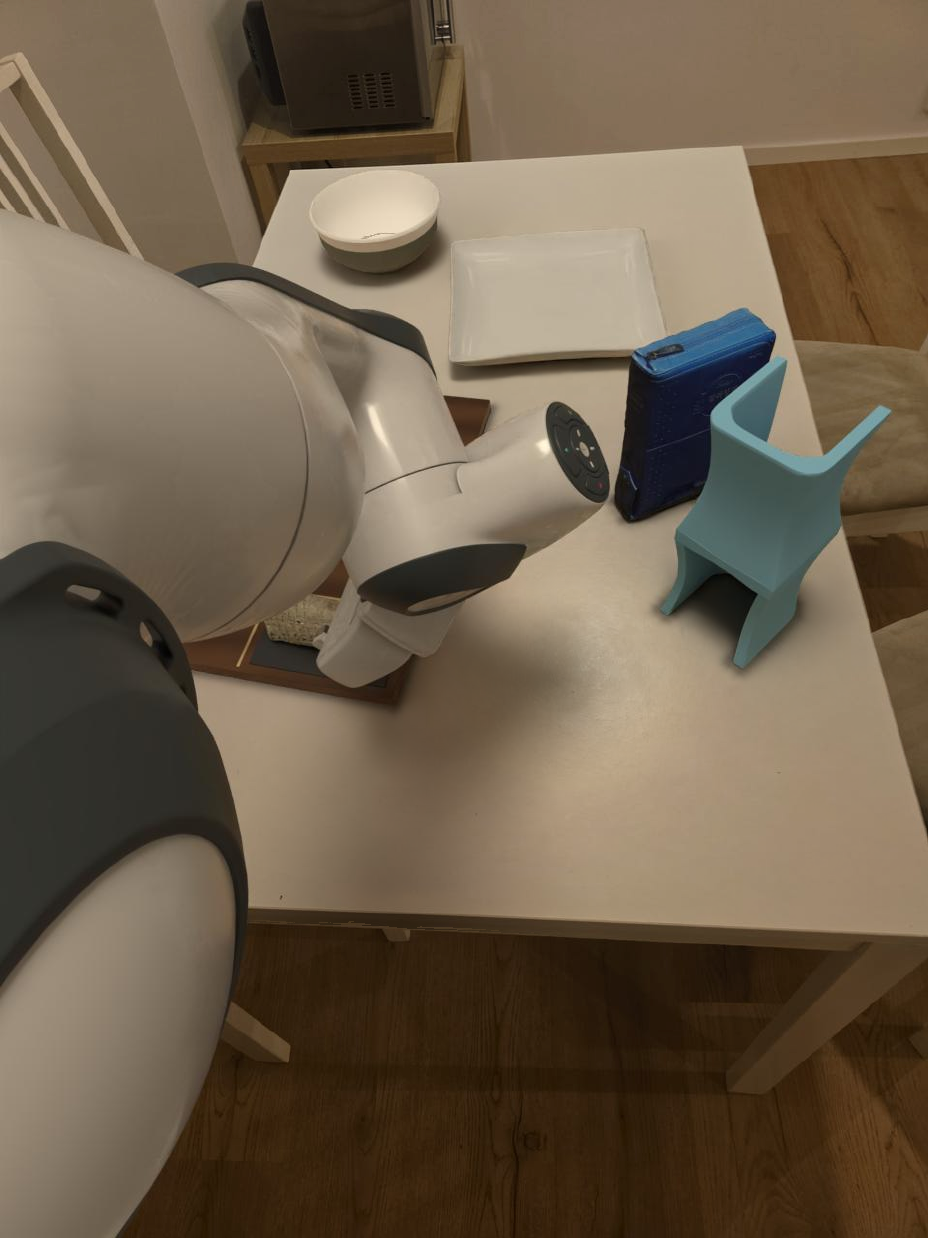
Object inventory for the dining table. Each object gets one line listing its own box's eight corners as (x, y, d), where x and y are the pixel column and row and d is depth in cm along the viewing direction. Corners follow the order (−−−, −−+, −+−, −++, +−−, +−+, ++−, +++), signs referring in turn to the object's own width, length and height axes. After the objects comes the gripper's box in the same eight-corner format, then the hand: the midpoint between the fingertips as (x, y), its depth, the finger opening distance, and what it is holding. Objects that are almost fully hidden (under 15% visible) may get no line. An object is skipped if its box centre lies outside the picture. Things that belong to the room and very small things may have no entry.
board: (394, 706, 77) (391, 698, 75) (151, 662, 82) (144, 653, 81) (490, 409, 99) (489, 398, 98) (294, 389, 104) (291, 378, 103)
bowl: (467, 234, 121) (463, 179, 115) (408, 306, 112) (400, 251, 106) (361, 213, 127) (351, 159, 120) (297, 280, 118) (282, 226, 112)
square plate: (668, 370, 100) (672, 344, 97) (449, 385, 102) (446, 359, 99) (642, 247, 116) (644, 221, 113) (452, 261, 118) (449, 236, 114)
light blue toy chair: (803, 607, 79) (894, 410, 59) (742, 669, 76) (816, 483, 55) (720, 554, 84) (778, 353, 63) (659, 610, 80) (699, 417, 60)
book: (630, 530, 87) (650, 380, 70) (604, 498, 89) (617, 346, 73) (742, 482, 89) (787, 325, 73) (714, 452, 92) (751, 295, 76)
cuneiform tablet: (375, 681, 77) (259, 659, 79) (390, 647, 80) (277, 628, 82) (367, 628, 72) (243, 607, 74) (383, 594, 75) (263, 575, 77)
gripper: (435, 423, 66) (346, 492, 76) (359, 628, 55) (267, 677, 65) (491, 468, 69) (398, 529, 79) (429, 672, 58) (331, 713, 68)
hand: (338, 598), depth 72 cm, fingers open, 8 cm apart
